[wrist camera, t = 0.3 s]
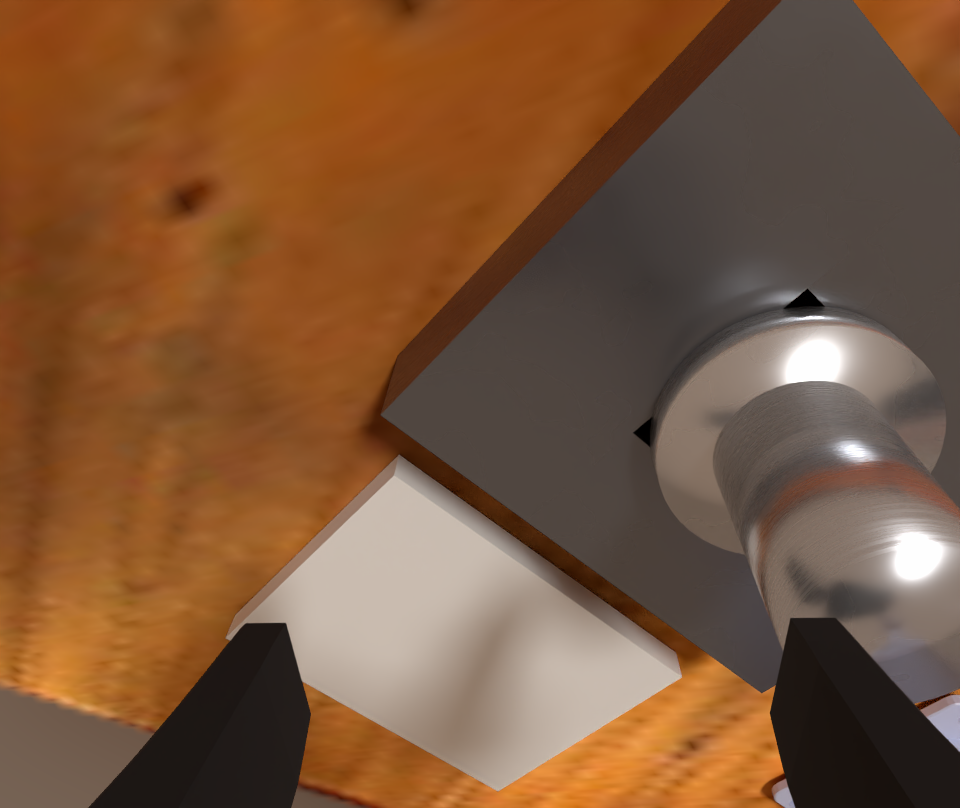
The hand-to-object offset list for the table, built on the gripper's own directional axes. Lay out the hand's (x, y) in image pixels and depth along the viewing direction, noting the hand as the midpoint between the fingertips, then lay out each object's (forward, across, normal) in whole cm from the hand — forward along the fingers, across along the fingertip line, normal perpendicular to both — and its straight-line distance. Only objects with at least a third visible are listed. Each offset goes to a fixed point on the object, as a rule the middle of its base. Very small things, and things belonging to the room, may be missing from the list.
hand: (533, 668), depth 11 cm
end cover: (+10, -6, 0) cm, 11 cm away
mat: (+10, +3, +10) cm, 15 cm away
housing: (+10, -6, 0) cm, 12 cm away
